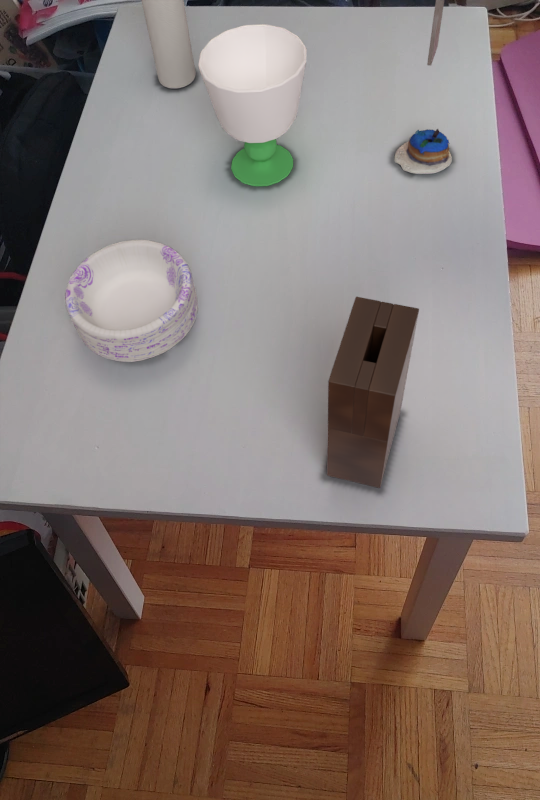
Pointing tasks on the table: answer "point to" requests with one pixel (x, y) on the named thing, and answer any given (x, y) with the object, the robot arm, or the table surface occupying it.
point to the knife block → (368, 389)
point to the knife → (435, 30)
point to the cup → (256, 95)
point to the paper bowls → (132, 300)
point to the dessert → (424, 153)
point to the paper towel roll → (170, 41)
